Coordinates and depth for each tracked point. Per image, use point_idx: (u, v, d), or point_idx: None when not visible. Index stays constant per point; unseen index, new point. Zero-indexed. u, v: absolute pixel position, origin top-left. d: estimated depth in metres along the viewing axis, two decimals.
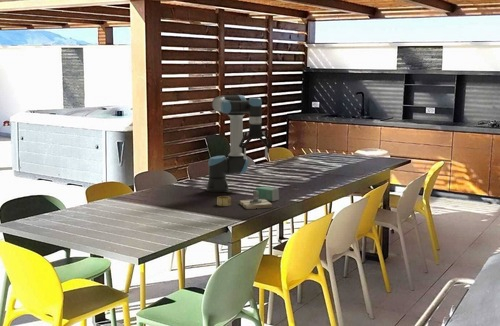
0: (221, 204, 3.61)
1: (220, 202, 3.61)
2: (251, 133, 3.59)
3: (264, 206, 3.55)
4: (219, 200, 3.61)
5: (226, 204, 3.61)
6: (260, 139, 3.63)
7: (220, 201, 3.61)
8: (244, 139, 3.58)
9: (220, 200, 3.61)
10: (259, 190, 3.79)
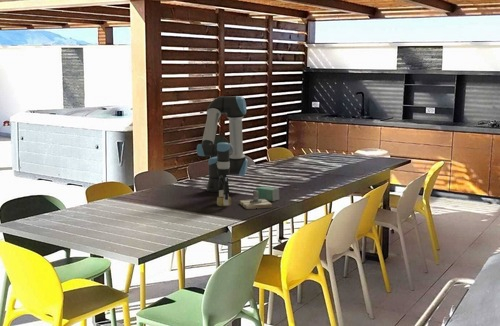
0: (221, 204, 3.61)
1: (220, 202, 3.61)
2: (220, 177, 3.65)
3: (264, 206, 3.55)
4: (219, 200, 3.61)
5: None
6: None
7: (220, 201, 3.61)
8: (219, 181, 3.70)
9: (220, 200, 3.61)
10: (259, 190, 3.79)
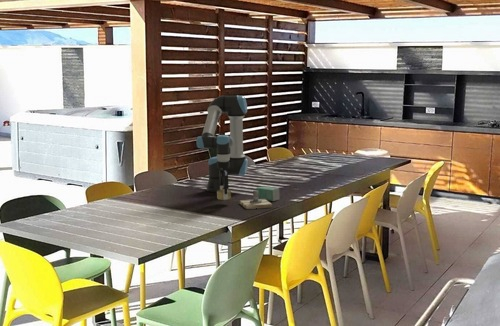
0: (221, 198, 3.61)
1: (220, 196, 3.61)
2: (220, 169, 3.64)
3: (264, 206, 3.55)
4: (219, 194, 3.61)
5: None
6: None
7: (220, 195, 3.61)
8: (219, 175, 3.68)
9: (220, 194, 3.61)
10: (260, 190, 3.79)
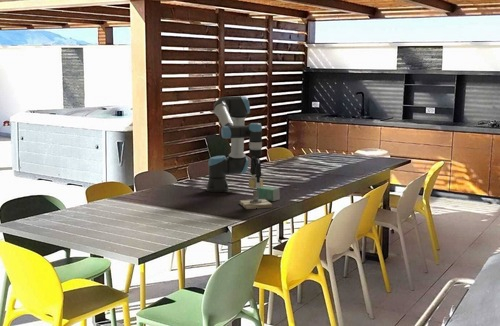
0: (253, 186, 3.56)
1: (252, 184, 3.56)
2: (252, 158, 3.60)
3: (264, 206, 3.55)
4: (251, 182, 3.57)
5: None
6: None
7: (252, 183, 3.56)
8: (251, 164, 3.64)
9: (252, 182, 3.56)
10: (260, 190, 3.79)
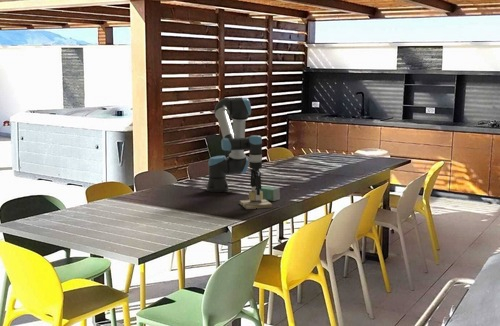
0: (253, 198, 3.58)
1: (252, 196, 3.58)
2: (252, 170, 3.61)
3: (264, 206, 3.55)
4: (251, 194, 3.58)
5: None
6: None
7: (252, 195, 3.58)
8: (251, 176, 3.65)
9: (252, 194, 3.57)
10: (260, 190, 3.80)
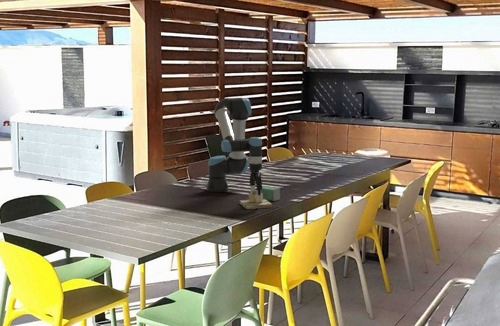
0: (253, 200, 3.58)
1: (252, 198, 3.58)
2: (252, 171, 3.62)
3: (264, 206, 3.55)
4: (251, 196, 3.58)
5: (258, 200, 3.58)
6: None
7: (252, 197, 3.58)
8: (250, 176, 3.66)
9: (252, 196, 3.58)
10: None
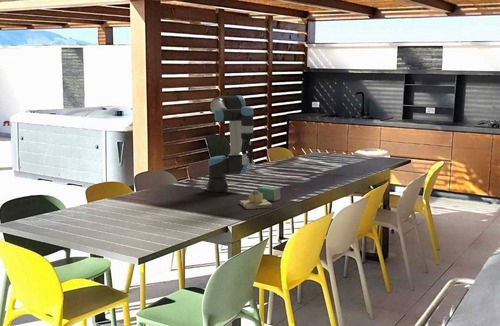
0: (253, 200, 3.58)
1: (252, 198, 3.58)
2: (244, 141, 3.69)
3: (264, 206, 3.55)
4: (251, 196, 3.58)
5: (258, 200, 3.58)
6: None
7: (252, 197, 3.58)
8: (242, 145, 3.74)
9: (252, 196, 3.58)
10: (261, 190, 3.80)
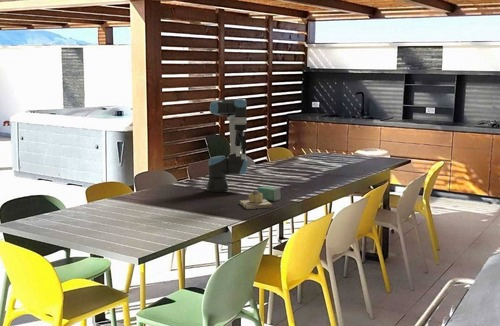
0: (253, 200, 3.58)
1: (252, 198, 3.58)
2: (237, 132, 3.76)
3: (264, 206, 3.55)
4: (251, 196, 3.58)
5: (258, 200, 3.58)
6: None
7: (252, 197, 3.58)
8: (235, 137, 3.81)
9: (252, 196, 3.58)
10: (261, 190, 3.80)
